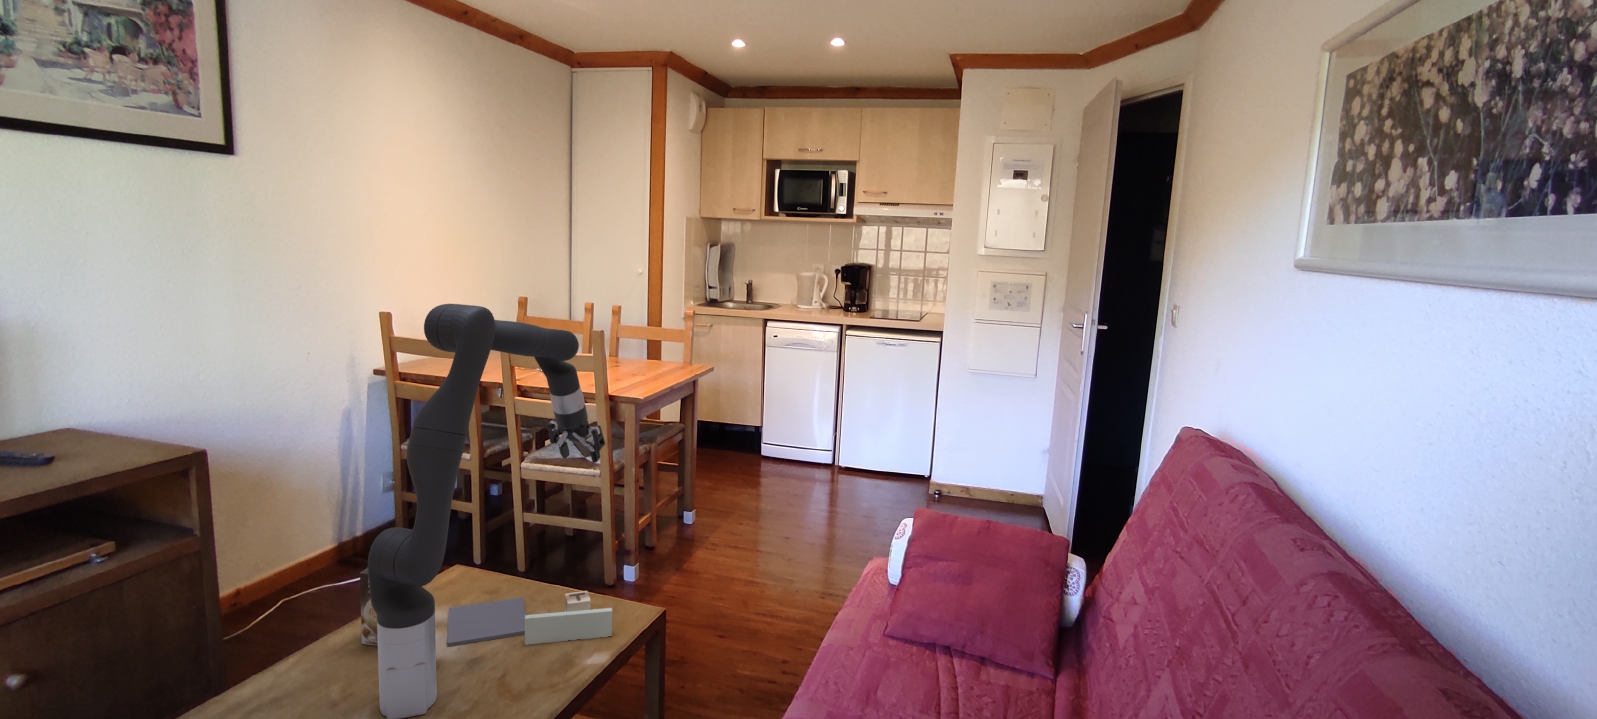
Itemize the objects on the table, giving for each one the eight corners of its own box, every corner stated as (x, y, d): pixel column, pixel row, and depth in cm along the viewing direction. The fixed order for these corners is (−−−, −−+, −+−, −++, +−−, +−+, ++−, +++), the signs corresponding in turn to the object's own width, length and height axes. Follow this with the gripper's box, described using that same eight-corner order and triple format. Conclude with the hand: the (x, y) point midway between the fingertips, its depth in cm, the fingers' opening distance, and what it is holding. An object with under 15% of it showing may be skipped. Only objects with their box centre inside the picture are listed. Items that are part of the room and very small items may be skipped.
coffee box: (359, 644, 150) (356, 572, 147) (380, 629, 156) (378, 559, 153) (401, 649, 149) (399, 576, 146) (420, 633, 155) (418, 563, 153)
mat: (528, 633, 157) (528, 630, 157) (447, 646, 151) (447, 643, 150) (523, 600, 172) (523, 596, 172) (448, 610, 165) (448, 607, 165)
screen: (611, 636, 158) (612, 610, 157) (524, 644, 153) (524, 618, 152) (611, 632, 160) (612, 607, 159) (525, 641, 154) (525, 615, 153)
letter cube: (590, 620, 164) (590, 599, 164) (567, 624, 162) (567, 603, 162) (587, 610, 169) (587, 590, 168) (565, 613, 167) (565, 593, 166)
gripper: (534, 409, 172) (548, 463, 180) (586, 416, 169) (598, 471, 176) (551, 393, 179) (564, 446, 186) (602, 399, 175) (613, 453, 183)
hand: (581, 458), depth 181 cm, fingers open, 8 cm apart
